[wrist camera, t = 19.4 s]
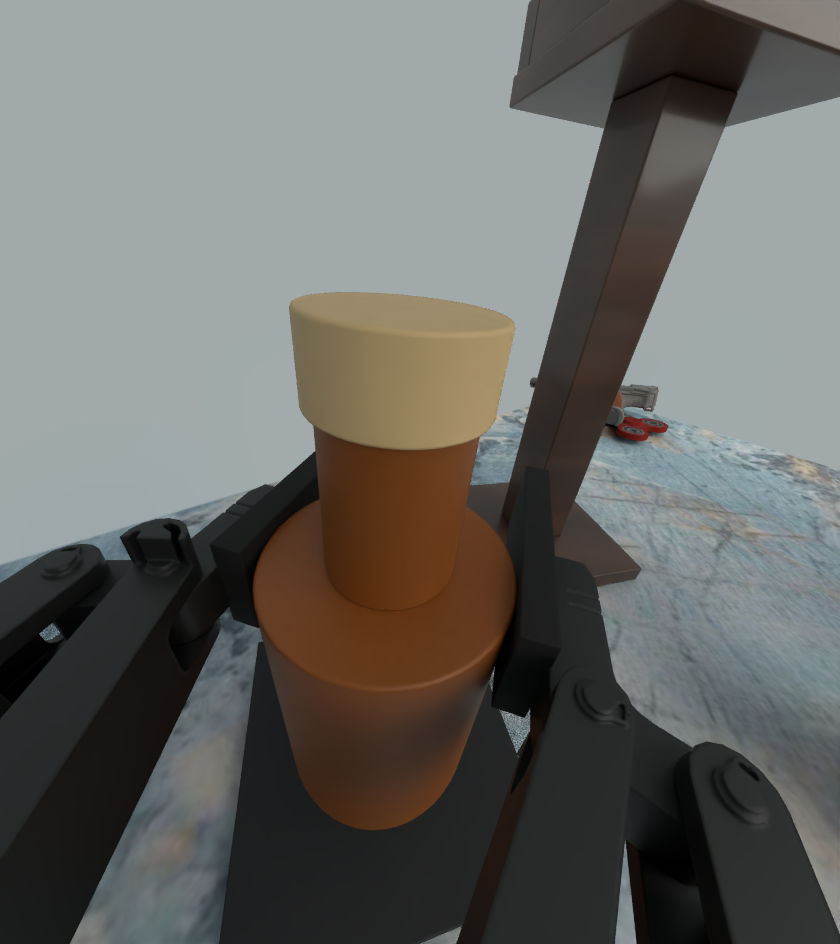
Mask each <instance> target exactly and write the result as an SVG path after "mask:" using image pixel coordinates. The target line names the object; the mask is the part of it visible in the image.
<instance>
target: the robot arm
mask: <svg viewBox="0 0 840 944" xmlns="http://www.w3.org/2000/svg"><path fill="white" fill-rule="evenodd" d="M318 499H320V498H319V486H318V474H317V462H316V451H315V452H314V453H313V454H312V455H310V456H309V457H308V458H307V459H306V460H305V461H303V462H302V464H300V465H299V466H298V467H297V468H296V469H294V470H293V471H292V472H291V473H290V474H289V475H288V476H286V477H285V478H284V479H283V480H282V481H281V482H280V483H278V484H277V485H276V486H275V487H274V486H270V485H266V484H265V485H263V486H260V487H258V488H256V489H254V490H251V491H249V492H248V493H247V494H245V495H244V496H243V497H242V498H240V499H239V500H238V501H237V502H236V504H233V505H232V506H231V507H229V508H228V509H227V510H226V512H225V513H222V514H221V515H220V516H218V517H217V518H216V519H215V520H214V521H212V522H211V523H210V524H209V525H207V526H206V527H205V528H204V529H203V530H201V531H200V532H199V533H198V534H196V535H195V536H194V537H193V538H190V535H189V532H188V529H187V526H186V524H184V523H183V522H181V521H180V520H176V519H170V518H166V519H155V520H152V521H148V522H144V523H142V524H140V525H137V526H135V527H133V528H131V529H129V530H128V531H127V532H125V533H124V534H123V535H122V536H120V538H121V540H122V542H123V544H124V546H125V548H126V550H127V552H128V554H129V556H130V558H131V560H105V558H104V556H103V555H102V553H101V551H100V549H99V548H97V547H95V546H93V545H88V544H78V545H71V546H66V547H63V548H60V549H57V550H54V551H52V552H50V553H48V554H46V555H44V556H42V557H40V558H38V559H37V560H35V561H34V562H32V563H31V564H29V565H28V566H26V567H24V568H23V569H21V570H20V571H18V572H17V573H15V574H14V575H12V576H11V577H9V578H7V579H6V580H4V581H3V582H1V583H0V944H70V943H71V940H72V938H73V936H74V934H75V932H76V930H77V928H78V926H79V924H80V922H81V920H82V918H83V915H84V913H85V911H86V909H87V907H88V905H89V903H90V901H91V899H92V897H93V895H94V893H95V891H96V888H97V886H98V884H99V882H100V880H101V878H102V876H103V874H104V872H105V870H106V868H107V866H108V863H109V861H110V859H111V857H112V855H113V853H114V851H115V849H116V847H117V845H118V843H119V841H120V838H121V836H122V834H123V832H124V830H125V828H126V826H127V824H128V822H129V820H130V818H131V816H132V813H133V811H134V809H135V807H136V805H137V803H138V801H139V799H140V797H141V795H142V793H143V791H144V788H145V786H146V784H147V782H148V780H149V778H150V776H151V774H152V772H153V770H154V768H155V766H156V763H157V761H158V759H159V757H160V755H161V753H162V751H163V749H164V747H165V745H166V743H167V741H168V739H169V736H170V734H171V732H172V730H173V728H174V726H175V724H176V722H177V720H178V718H179V716H180V714H181V711H182V709H183V707H184V705H185V703H186V701H187V699H188V697H189V695H190V693H191V691H192V689H193V686H194V684H195V682H196V680H197V678H198V676H199V674H200V672H201V670H202V668H203V666H204V664H205V661H206V659H207V657H208V655H209V653H210V651H211V649H212V647H213V645H214V643H215V641H216V639H217V636H218V634H219V631H220V627H221V622H220V619H219V617H220V616H221V615H222V614H223V613H224V611H225V610H226V609H227V608H228V607H230V610H231V613H232V616H233V619H234V620H236V621H239V622H242V623H245V624H248V625H251V626H254V627H256V628H260V627H259V623H258V619H257V615H256V612H255V608H254V600H253V579H254V574H255V570H256V566H257V562H258V560H259V558H260V555H261V553H262V551H263V548H264V547H265V545H266V544H267V542H268V540H269V539H270V537H271V536H272V535H273V534H274V532H275V531H276V530H277V529H278V528H279V526H281V525H282V524H283V523H284V522H285V521H286V520H287V519H288V518H289V517H290V516H292V515H293V514H294V513H296V512H297V511H299V510H300V509H302V508H303V507H305V506H307V505H308V504H310V503H312V502H314V501H316V500H318ZM506 548H507V550H508V552H509V554H510V556H511V559H512V562H513V564H514V568H515V573H516V578H517V601H516V608H515V612H514V615H513V618H512V621H511V624H510V627H509V629H508V632H507V635H506V637H505V640H504V643H503V645H502V648H501V651H500V653H499V656H498V659H497V661H496V664H495V670H494V681H493V691H492V702H491V707H494V708H497V709H500V710H503V711H506V712H509V713H512V714H515V715H518V716H521V717H524V718H525V716H526V714H527V713H528V711H529V709H530V732H529V734H528V735H527V737H526V739H525V740H524V742H523V744H522V746H521V747H520V749H519V751H518V753H517V755H518V756H519V759H518V762H517V765H516V768H515V771H514V774H513V777H512V780H511V783H510V786H509V789H508V792H507V795H506V798H505V801H504V804H503V807H502V810H501V813H500V816H499V819H498V822H497V824H496V827H495V830H494V833H493V836H492V839H491V842H490V845H489V848H488V851H487V854H486V857H485V860H484V863H483V866H482V869H481V872H480V875H479V878H478V881H477V884H476V887H475V890H474V893H473V896H472V899H471V902H470V905H469V908H468V911H467V914H466V917H465V920H464V923H463V926H462V929H461V932H460V935H459V938H458V941H457V944H615V935H616V925H617V915H618V905H619V895H620V885H621V874H622V864H623V854H624V844H625V839H626V848H627V858H628V867H629V876H630V886H631V895H632V904H633V913H634V923H635V932H636V941H637V944H840V934H839V931H838V929H837V926H836V924H835V921H834V919H833V916H832V914H831V912H830V909H829V907H828V904H827V902H826V899H825V897H824V895H823V892H822V890H821V887H820V885H819V882H818V880H817V878H816V875H815V873H814V870H813V868H812V865H811V863H810V861H809V858H808V856H807V853H806V851H805V848H804V846H803V844H802V841H801V839H800V836H799V834H798V831H797V829H796V827H795V824H794V822H793V819H792V817H791V814H790V812H789V810H788V809H787V807H786V805H785V803H784V801H783V800H782V798H781V796H780V794H779V792H778V791H777V790H776V788H775V787H774V786H773V785H772V784H771V782H770V781H769V780H768V779H767V778H766V776H765V775H764V774H763V773H762V772H761V771H760V770H759V769H758V768H757V767H756V766H754V765H753V764H752V763H751V762H750V761H749V760H747V759H746V758H745V757H744V756H743V755H741V754H739V753H738V752H736V751H734V750H732V749H730V748H728V747H726V746H724V745H722V744H717V743H712V742H704V743H701V744H698V745H696V746H694V747H693V748H692V747H690V746H689V745H687V744H685V743H684V742H682V741H681V740H679V739H677V738H676V737H674V736H673V735H671V734H669V733H668V732H666V731H665V730H663V729H661V728H660V727H658V726H657V725H655V724H654V723H652V722H651V721H649V720H648V719H647V718H645V717H644V716H643V715H641V714H640V713H639V712H638V711H637V710H636V709H635V708H634V707H633V706H632V704H631V702H630V700H629V698H628V696H627V694H626V693H625V692H624V691H623V689H622V688H621V687H620V686H619V685H618V683H617V682H616V679H615V676H614V673H613V669H612V664H611V658H610V653H609V648H608V643H607V638H606V632H605V627H604V622H603V617H602V615H601V612H602V611H601V606H600V601H599V600H598V598H599V596H598V591H597V585H596V580H595V579H594V577H593V576H592V574H591V572H590V571H589V569H588V568H587V566H586V565H585V563H581V562H577V561H573V560H569V559H565V558H561V557H557V556H555V548H554V534H553V520H552V506H551V492H550V478H549V470H545V469H540V468H535V467H531V466H526V468H525V471H524V474H523V478H522V481H521V485H520V488H519V491H518V495H517V498H516V502H515V505H514V508H513V512H512V515H511V519H510V522H509V525H508V535H507V545H506ZM51 623H53V624H54V625H55V627H56V628H57V629H58V630H59V632H60V634H59V635H57V636H56V637H54V638H53V639H50V640H46V641H45V640H44V639H43V638H42V637H41V636H40V634H39V633H40V632H42V631H43V630H44V629H45V628H47V627H48V626H49V625H50V624H51Z"/></svg>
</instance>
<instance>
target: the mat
mask: <svg viewBox="0 0 840 944" xmlns="http://www.w3.org/2000/svg"><path fill="white" fill-rule="evenodd" d="M491 702H492V690H491V688H490V685H489V683H488V686H487V688H486V691H485V694H484V696H483V699H482V702H481V704H480V707H479V710H478V713H477V715H476V718H475V721H474V723H473V726H472V729H471V731H470V734H469V737H468V739H467V742H466V745H465V747H464V750H463V753H462V755H461V758H460V761H459V764H458V766H457V769H456V771H455V773H454V775H453V777H452V779H451V781H450V783H449V784H448V786H447V788H446V789H445V791H444V792H443V794H442V795H441V796H440V797H439V798H438V799H437V801H436V802H435V803H434V804H433V805H432V806H431V807H429V808H428V809H427V810H426V811H425V812H424V813H422V814H421V815H419V816H418V817H416V818H415V819H413V820H411V821H409V822H407V823H405V824H402V825H400V826H397V827H393V828H389V829H384V830H365V829H357V828H354V827H351V826H348V825H345V824H343V823H341V822H339V821H337V820H335V819H333V818H332V817H330V816H329V815H328V814H327V813H325V812H324V811H323V810H322V809H321V808H320V807H319V806H318V805H317V804H316V803H315V802H314V801H313V799H312V798H311V797H310V795H309V794H308V792H307V790H306V789H305V787H304V785H303V783H302V781H301V778H300V776H299V774H298V770H297V767H296V763H295V760H294V756H293V752H292V748H291V744H290V741H289V737H288V733H287V729H286V725H285V722H284V718H283V714H282V710H281V706H280V703H279V699H278V695H277V691H276V687H275V684H274V680H273V676H272V672H271V669H270V665H269V661H268V657H267V653H266V650H265V646H264V642H259V643H258V650H257V658H256V665H255V673H254V681H253V688H252V696H251V704H250V711H249V719H248V727H247V734H246V742H245V750H244V757H243V765H242V773H241V781H240V788H239V796H238V804H237V811H236V819H235V827H234V834H233V842H232V850H231V857H230V865H229V873H228V880H227V888H226V896H225V903H224V911H223V919H222V926H221V934H220V942H219V944H420V943H422V942H425V941H427V940H429V939H432V938H434V937H437V936H439V935H441V934H444V933H446V932H448V931H451V930H453V929H455V928H458V927H460V926H463V923H464V920H465V917H466V914H467V911H468V908H469V905H470V902H471V899H472V896H473V893H474V890H475V887H476V884H477V881H478V878H479V875H480V872H481V869H482V866H483V863H484V860H485V857H486V854H487V851H488V848H489V845H490V842H491V839H492V836H493V833H494V830H495V827H496V824H497V822H498V819H499V816H500V813H501V810H502V807H503V804H504V801H505V798H506V795H507V792H508V789H509V786H510V783H511V780H512V777H513V774H514V771H515V768H516V765H517V762H518V759H519V758H518V756H517V753H516V751H515V748H514V746H513V743H512V741H511V738H510V736H509V733H508V731H507V728H506V725H505V723H504V720H503V718H502V715H501V713H500V710H499V709H497V708H494V707H491Z"/></svg>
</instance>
